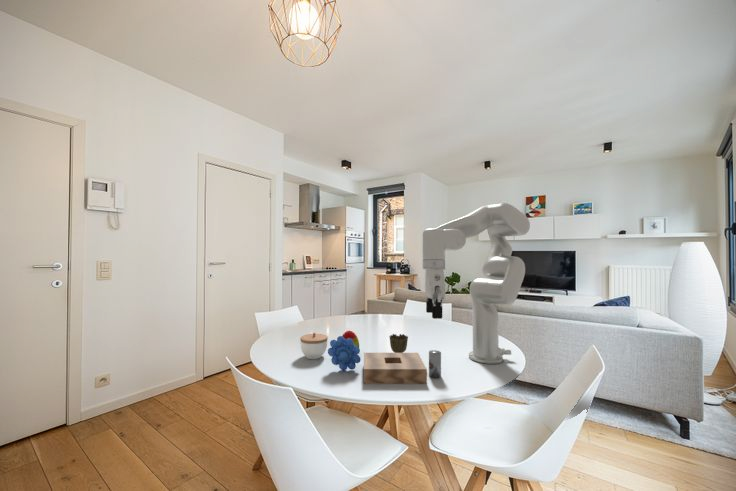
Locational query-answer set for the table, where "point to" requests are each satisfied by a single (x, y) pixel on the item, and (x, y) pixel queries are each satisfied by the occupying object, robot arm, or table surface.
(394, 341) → the cup
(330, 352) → the grapes
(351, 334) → the decorative egg
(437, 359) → the steel peg
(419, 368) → the walnut block
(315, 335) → the lidded jar
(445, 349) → the table surface
